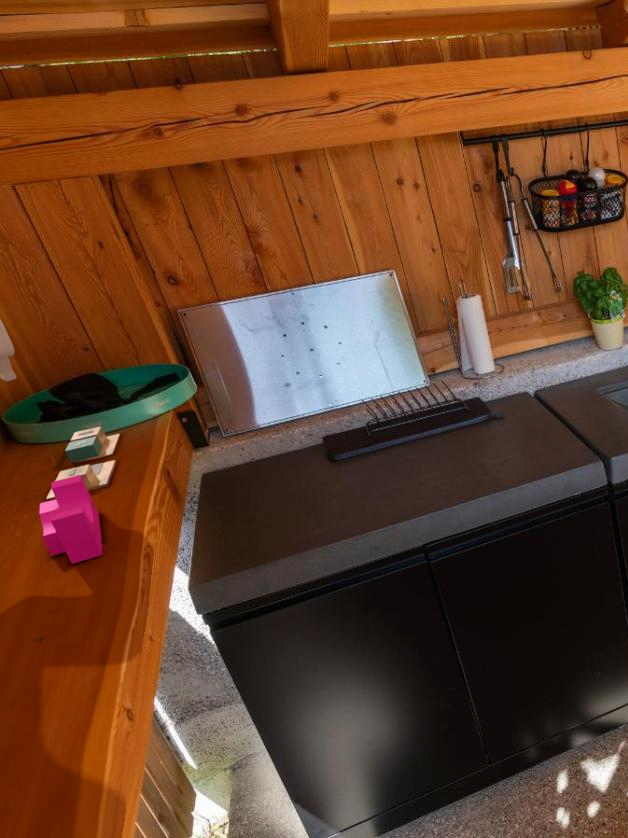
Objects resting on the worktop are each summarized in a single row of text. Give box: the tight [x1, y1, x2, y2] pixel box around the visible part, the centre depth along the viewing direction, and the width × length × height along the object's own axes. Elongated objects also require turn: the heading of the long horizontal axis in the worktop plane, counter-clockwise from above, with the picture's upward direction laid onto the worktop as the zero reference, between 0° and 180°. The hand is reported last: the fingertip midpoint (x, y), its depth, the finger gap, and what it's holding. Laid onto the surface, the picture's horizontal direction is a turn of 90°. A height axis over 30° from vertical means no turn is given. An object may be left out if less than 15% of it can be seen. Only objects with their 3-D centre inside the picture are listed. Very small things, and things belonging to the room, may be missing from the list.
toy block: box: [39, 475, 103, 565], centre depth 117 cm, size 15×6×8 cm, turn 37°
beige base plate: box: [45, 459, 117, 501], centre depth 137 cm, size 9×11×3 cm
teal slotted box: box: [64, 436, 102, 463], centre depth 147 cm, size 4×4×3 cm
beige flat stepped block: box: [70, 426, 121, 463], centre depth 149 cm, size 9×11×3 cm
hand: (1, 375), depth 134 cm, fingers open, 8 cm apart
